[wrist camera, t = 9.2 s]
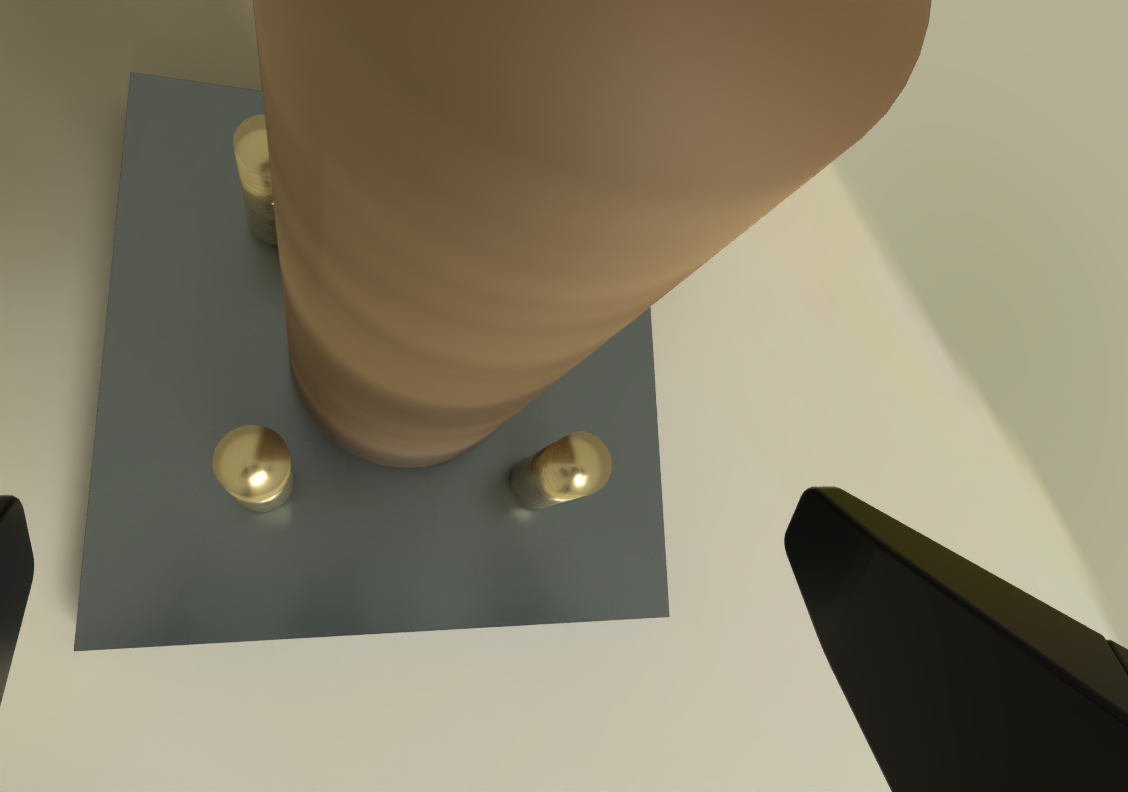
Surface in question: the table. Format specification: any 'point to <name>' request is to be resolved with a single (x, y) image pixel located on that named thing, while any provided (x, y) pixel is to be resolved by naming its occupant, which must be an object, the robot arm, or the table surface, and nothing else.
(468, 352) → the walnut post
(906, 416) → the table surface
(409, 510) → the plate
